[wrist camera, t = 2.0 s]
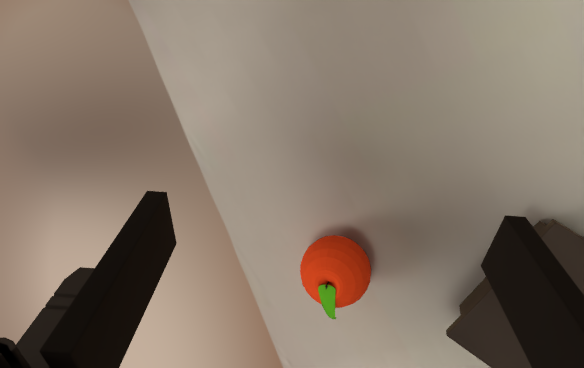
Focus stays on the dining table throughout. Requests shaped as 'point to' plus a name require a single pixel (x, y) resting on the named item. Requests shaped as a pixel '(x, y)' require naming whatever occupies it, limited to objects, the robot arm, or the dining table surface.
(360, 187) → the dining table surface
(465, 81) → the dining table surface
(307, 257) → the clementine
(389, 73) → the dining table surface
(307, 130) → the dining table surface
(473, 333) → the stand
